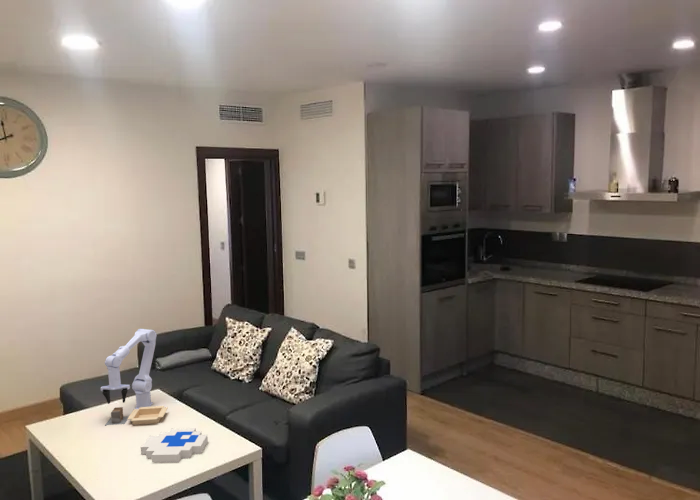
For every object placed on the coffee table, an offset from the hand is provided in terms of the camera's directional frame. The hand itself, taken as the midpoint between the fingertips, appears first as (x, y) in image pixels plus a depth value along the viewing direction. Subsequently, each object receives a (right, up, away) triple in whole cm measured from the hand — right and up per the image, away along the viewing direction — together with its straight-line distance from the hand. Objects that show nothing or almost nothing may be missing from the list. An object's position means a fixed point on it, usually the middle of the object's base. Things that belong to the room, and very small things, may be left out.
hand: (116, 402), depth 312 cm
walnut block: (+1, -9, -2) cm, 9 cm away
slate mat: (+1, -10, -2) cm, 10 cm away
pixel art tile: (+42, -13, -34) cm, 56 cm away
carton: (+17, -9, 0) cm, 19 cm away
